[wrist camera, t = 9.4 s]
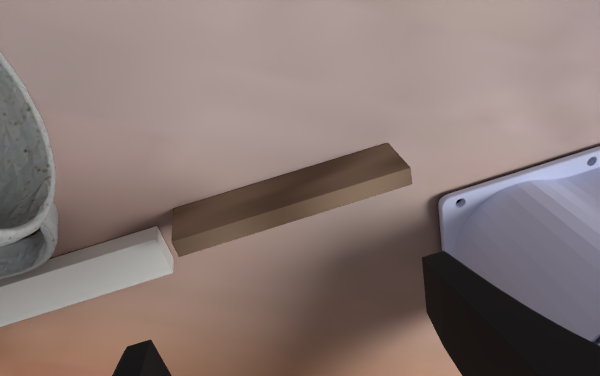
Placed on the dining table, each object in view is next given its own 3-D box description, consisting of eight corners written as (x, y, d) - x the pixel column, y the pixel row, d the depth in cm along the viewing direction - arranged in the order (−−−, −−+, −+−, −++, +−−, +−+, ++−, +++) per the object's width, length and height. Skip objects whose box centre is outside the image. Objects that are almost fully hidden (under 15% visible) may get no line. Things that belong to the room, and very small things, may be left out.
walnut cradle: (324, -305, 13) (349, -349, 11) (390, 157, 21) (412, 183, 19) (-24, -217, 13) (-68, -247, 10) (180, 222, 21) (178, 256, 18)
